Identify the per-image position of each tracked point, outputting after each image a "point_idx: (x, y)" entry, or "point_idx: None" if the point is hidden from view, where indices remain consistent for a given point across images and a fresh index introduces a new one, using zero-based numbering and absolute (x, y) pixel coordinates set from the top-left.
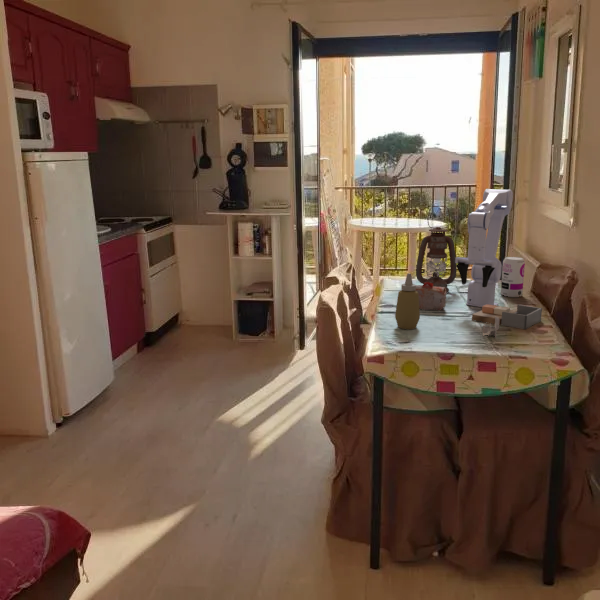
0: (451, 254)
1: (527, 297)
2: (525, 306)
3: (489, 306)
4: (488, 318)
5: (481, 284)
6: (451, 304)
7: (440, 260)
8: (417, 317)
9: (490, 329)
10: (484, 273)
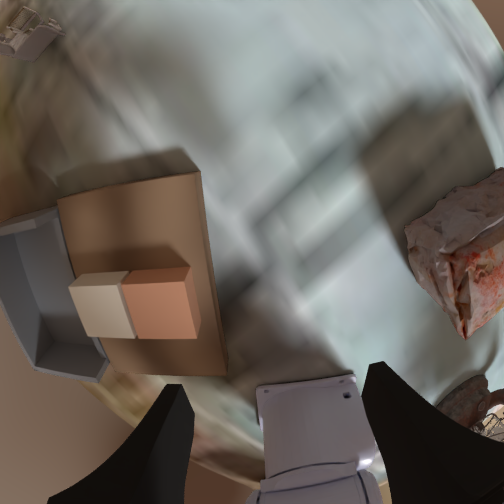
0: None
1: (247, 482)
2: (71, 372)
3: (155, 302)
4: (106, 187)
5: (311, 461)
6: (401, 343)
7: None
8: None
9: (22, 31)
10: (113, 488)
